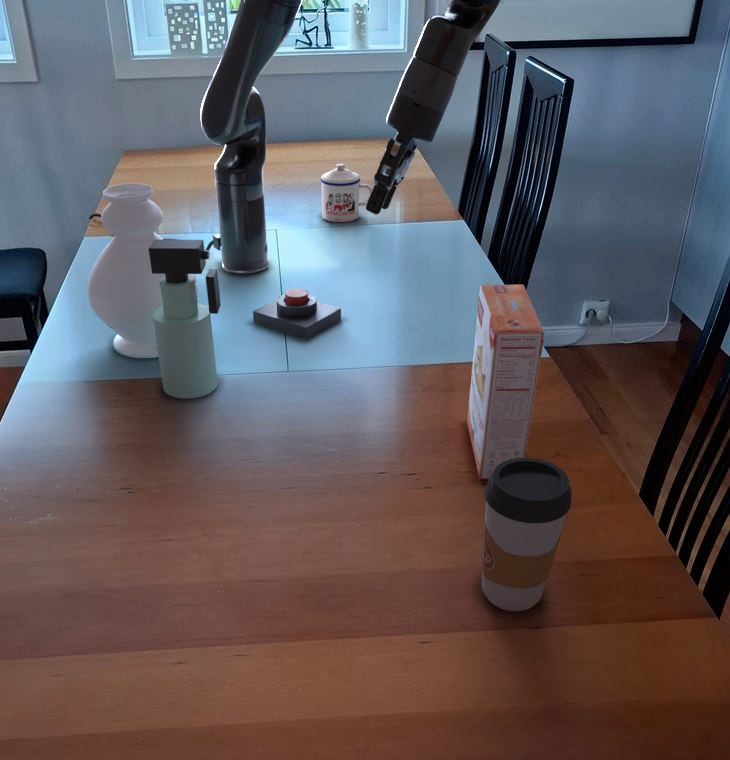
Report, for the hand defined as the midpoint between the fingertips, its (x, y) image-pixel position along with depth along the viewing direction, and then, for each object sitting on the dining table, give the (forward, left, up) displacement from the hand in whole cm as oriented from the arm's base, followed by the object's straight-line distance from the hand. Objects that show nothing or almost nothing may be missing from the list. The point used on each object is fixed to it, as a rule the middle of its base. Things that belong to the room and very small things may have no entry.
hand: (376, 209), depth 124 cm
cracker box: (+37, -7, -22) cm, 44 cm away
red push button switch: (-14, -7, -22) cm, 27 cm away
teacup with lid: (-58, +33, -22) cm, 70 cm away
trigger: (0, -29, -9) cm, 30 cm away
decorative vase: (-21, -32, -22) cm, 44 cm away
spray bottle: (-3, -33, -22) cm, 39 cm away
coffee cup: (+59, -24, -22) cm, 67 cm away
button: (-14, -7, -18) cm, 24 cm away
